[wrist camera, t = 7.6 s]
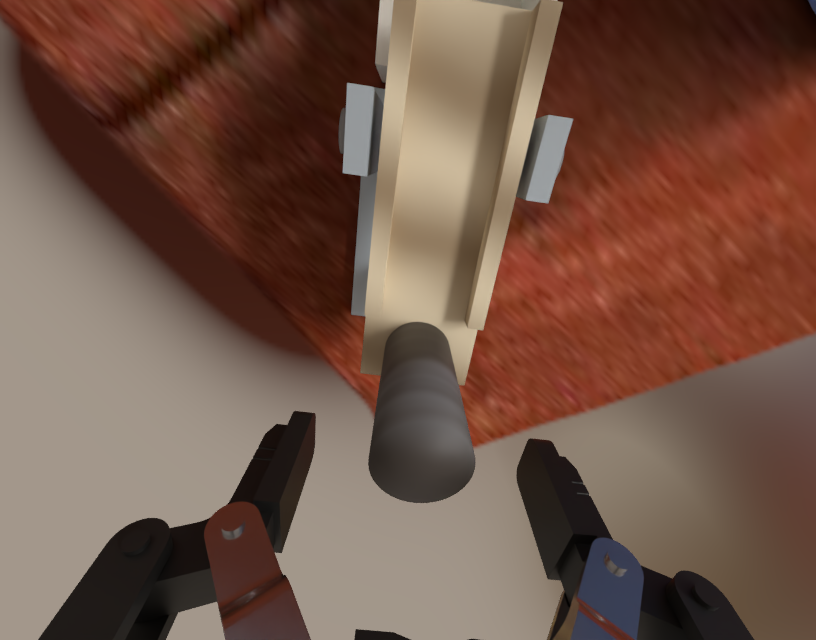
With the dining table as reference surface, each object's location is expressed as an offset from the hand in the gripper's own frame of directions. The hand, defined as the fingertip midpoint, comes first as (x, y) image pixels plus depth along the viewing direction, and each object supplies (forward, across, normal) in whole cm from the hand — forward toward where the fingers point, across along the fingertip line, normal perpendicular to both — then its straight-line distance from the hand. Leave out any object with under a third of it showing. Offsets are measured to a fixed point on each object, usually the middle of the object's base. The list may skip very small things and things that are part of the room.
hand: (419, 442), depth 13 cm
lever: (+8, 0, -6) cm, 10 cm away
